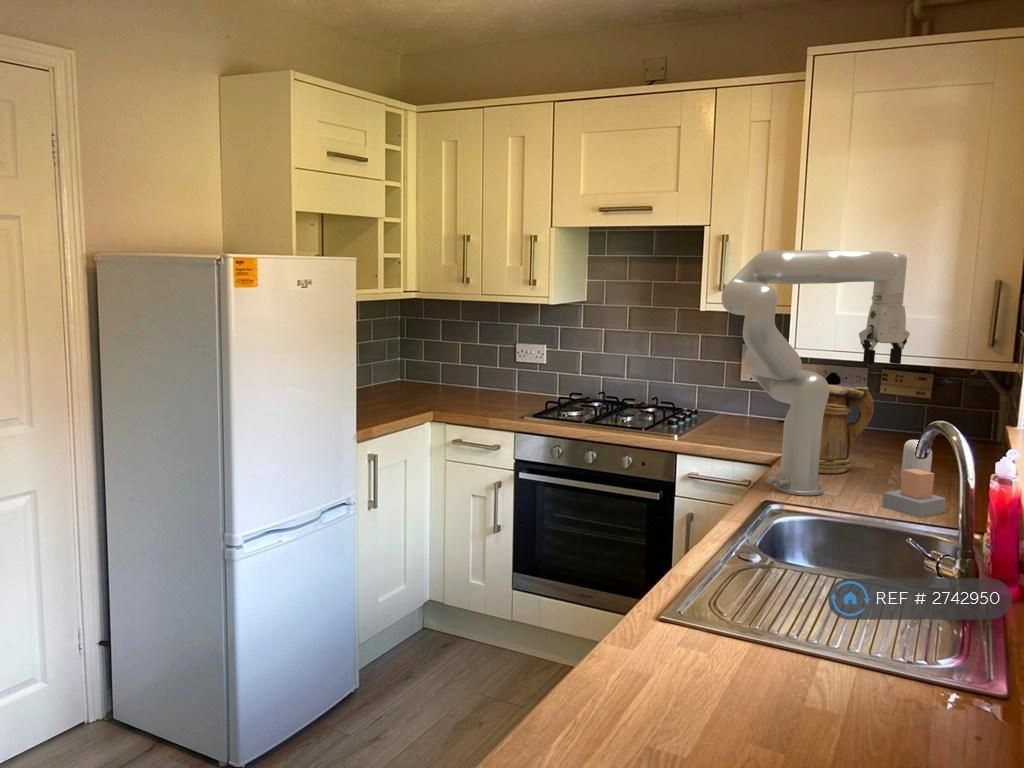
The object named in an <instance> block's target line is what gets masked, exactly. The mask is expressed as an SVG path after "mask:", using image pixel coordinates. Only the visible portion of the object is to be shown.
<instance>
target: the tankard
mask: <svg viewBox="0 0 1024 768" xmlns="http://www.w3.org/2000/svg"><path fill="white" fill-rule="evenodd" d="M828 385H829V397H828V401H827V404H826V407H825V411H824V416H823V424H822V435H821V447H820V459H819V471H818V474H827V475H828V474H829V475H831V474H835V475H838V474H843V473H846V472H847V471H849V469H850V468H851V467H852V463H851V461H852V460H851V456H850V452H851V448H852V446H853V443H854V442H855V440H856V439H857V438H858V437H859V435H860V434H862V432H864V430H865V429H866V428H867V426H868V425H869V423H870V422H871V420H872V418H873V414H874V410H875V409H874V408H875V407H874V399H873V397H872V395H871V393H870V391H869V387H867V386H861V387H859V386H857V387H850V386H843V385H836V384H829V383H828ZM851 405H852V406H853V407H856V408H857V409H858V411H859V412H858V415H859V416H858V418H857V419H856V420H855V421H853V422H848V420H847V418H848V417H847V416H848V415H849V414H851V413H852V412H853V410H852V409H851V408H850V406H851Z"/></svg>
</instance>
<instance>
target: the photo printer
mask: <svg viewBox="0 0 1024 768" xmlns="http://www.w3.org/2000/svg"><path fill="white" fill-rule="evenodd" d="M918 441H919V439H909V440H907V441H906V442H905V443H904V445H903V453H902V463H901V471H900V480H901V481H902V473H903V470H907V469H920V470H924V471H927V472H931V470H932V462H933V451H932V449H931V450H930V453H929V455H928V457H927V458H925V459H918V458H916V456H915V452H916V447H917V444H918Z"/></svg>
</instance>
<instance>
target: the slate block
mask: <svg viewBox="0 0 1024 768" xmlns="http://www.w3.org/2000/svg"><path fill="white" fill-rule="evenodd" d="M900 491H901V489H897V490H891V491H887V492H883V496H882V506H881V507H883V508H884V509H888V510H891V509H893V510H892V511H895V510H896V511H895V512H898V511H899V512H898V513H902V512H903V513H902V514H905V513H906V514H905V515H908V514H910V515H909V516H912V515H914V516H913V517H915V516H918V517H921V518H923V517H922V516H926V517H928V516H927V515H930V516H934V515H933V514H935V515H939V514H938V513H940V514H943V513H942V512H946V511H945V510H946V502H947V498H946V497H942V496H939V495H935V494H932V497H931V498H920V499H916V498H913V497H910V496H907V495H903V494H900ZM918 517H917V518H918Z"/></svg>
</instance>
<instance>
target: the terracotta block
mask: <svg viewBox="0 0 1024 768" xmlns="http://www.w3.org/2000/svg"><path fill="white" fill-rule="evenodd" d="M934 481H935V473H934V472H931V471H930V472H927V471H924V470H920V469H907V470H903V473H902V480H901V482H900V490H901V491H900V494H903V495H907V496H910V497H913V498H916V499H920V498H931V497H932V495H933V490H934V484H935V483H934Z"/></svg>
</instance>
